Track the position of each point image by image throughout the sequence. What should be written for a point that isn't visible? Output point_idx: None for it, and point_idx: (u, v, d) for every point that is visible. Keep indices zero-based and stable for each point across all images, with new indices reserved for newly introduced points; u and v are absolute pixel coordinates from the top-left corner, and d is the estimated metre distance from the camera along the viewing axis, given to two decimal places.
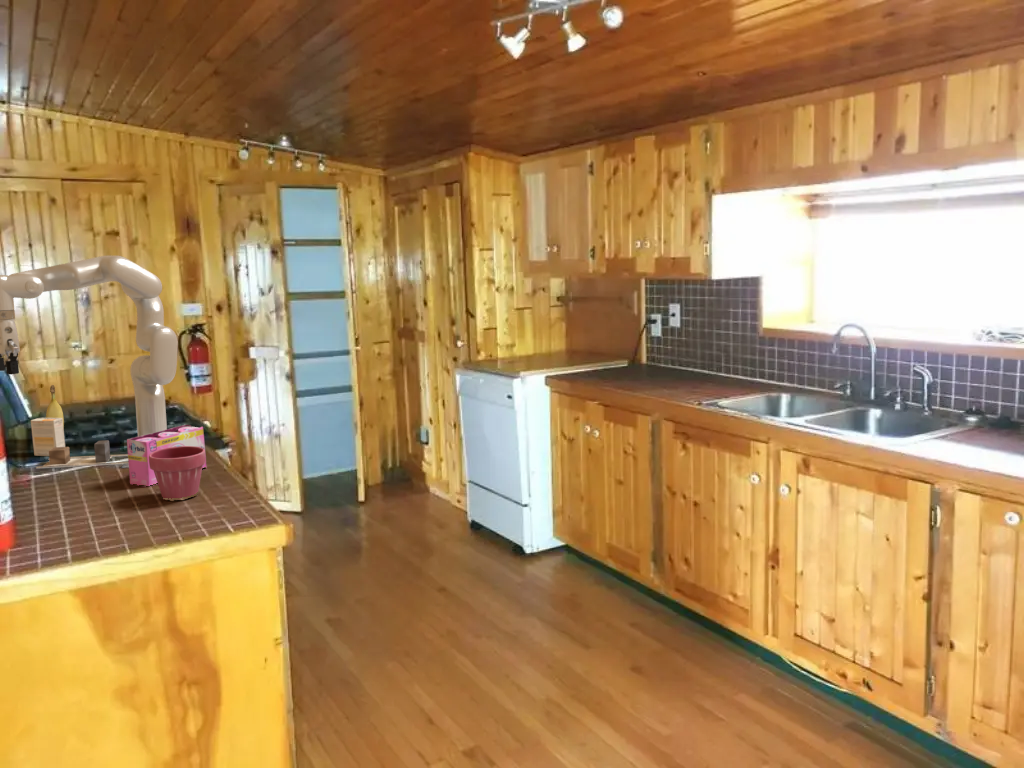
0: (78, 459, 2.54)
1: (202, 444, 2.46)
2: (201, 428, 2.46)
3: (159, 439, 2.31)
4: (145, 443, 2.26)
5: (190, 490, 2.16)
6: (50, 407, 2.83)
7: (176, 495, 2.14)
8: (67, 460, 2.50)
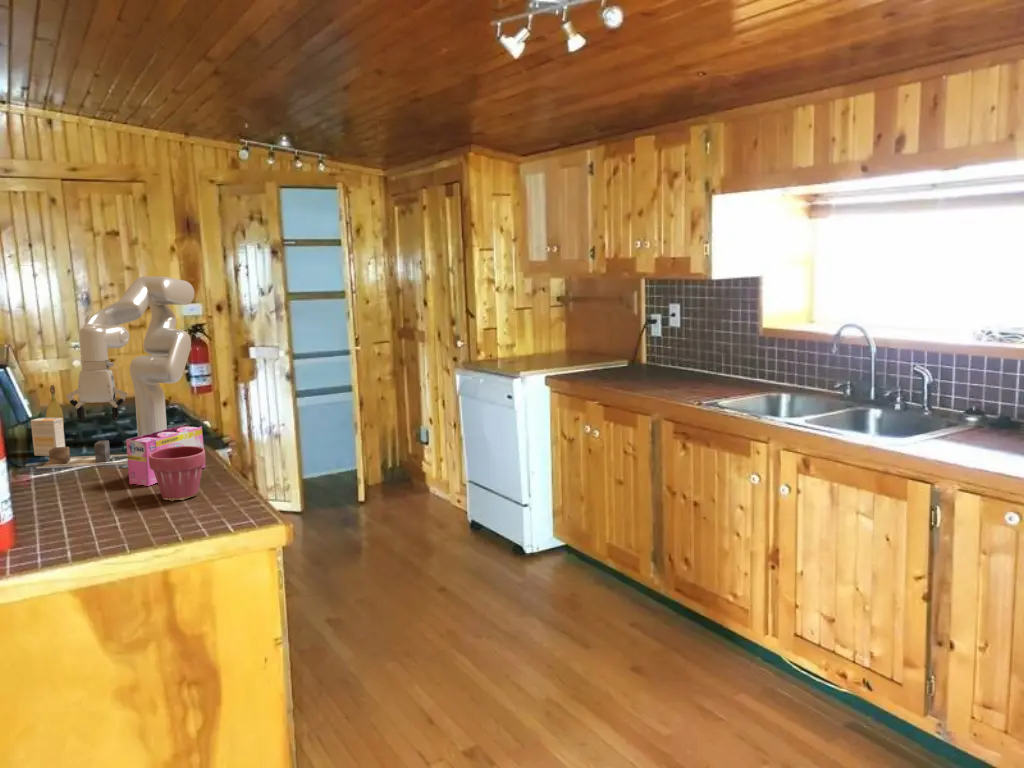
0: (78, 459, 2.54)
1: (201, 444, 2.46)
2: (200, 428, 2.46)
3: (158, 439, 2.31)
4: (145, 443, 2.26)
5: (190, 490, 2.16)
6: (50, 407, 2.83)
7: (176, 495, 2.14)
8: (67, 460, 2.50)
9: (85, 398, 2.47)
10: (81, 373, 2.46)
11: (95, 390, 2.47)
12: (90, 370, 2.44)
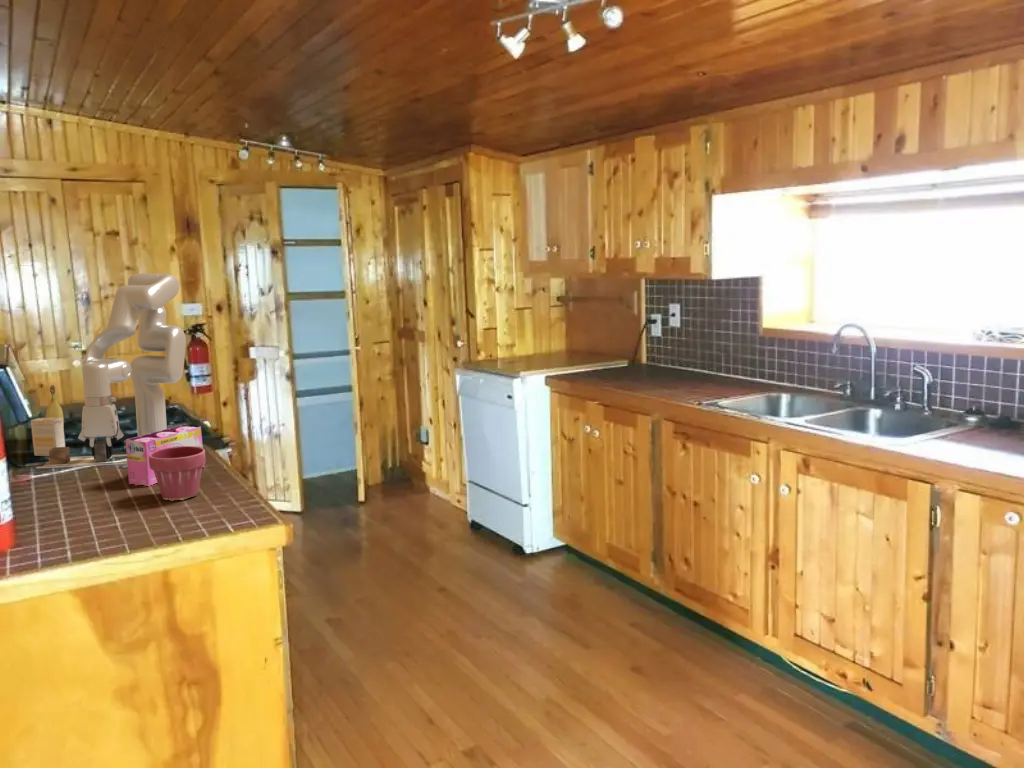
0: (78, 459, 2.54)
1: (200, 444, 2.47)
2: (199, 428, 2.46)
3: (158, 439, 2.31)
4: (144, 443, 2.26)
5: (190, 490, 2.16)
6: (50, 407, 2.83)
7: (176, 495, 2.14)
8: (67, 460, 2.50)
9: (89, 433, 2.49)
10: (84, 409, 2.47)
11: (99, 425, 2.49)
12: (93, 406, 2.46)
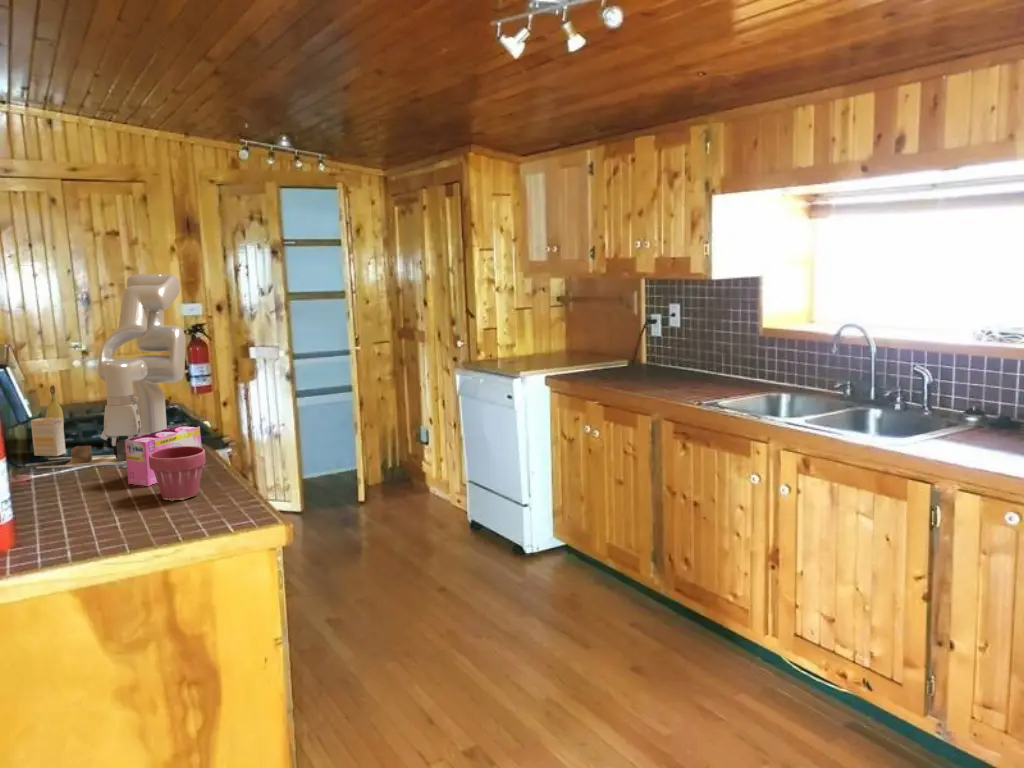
0: (100, 458, 2.56)
1: (199, 444, 2.47)
2: (198, 428, 2.46)
3: (157, 439, 2.31)
4: (144, 443, 2.26)
5: (190, 490, 2.16)
6: (50, 407, 2.83)
7: (176, 495, 2.14)
8: (89, 459, 2.52)
9: (111, 432, 2.50)
10: (107, 408, 2.49)
11: (121, 424, 2.50)
12: (116, 405, 2.48)
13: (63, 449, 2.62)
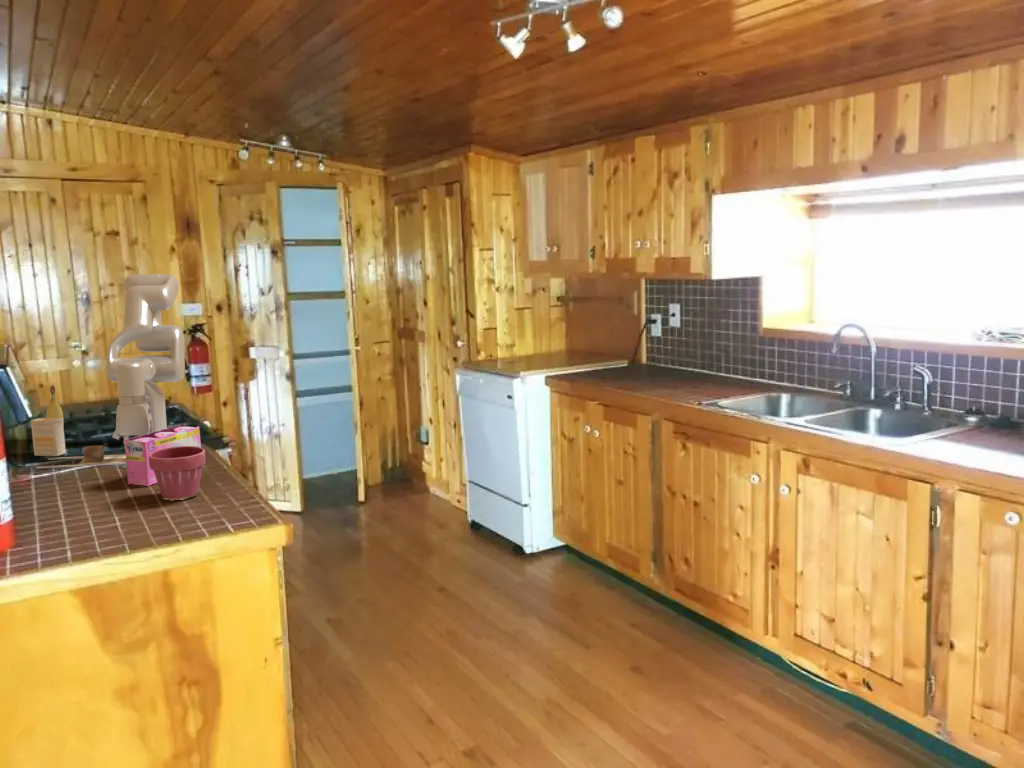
0: (112, 457, 2.56)
1: (198, 444, 2.47)
2: (197, 428, 2.46)
3: (157, 439, 2.31)
4: (144, 443, 2.26)
5: (190, 490, 2.16)
6: (50, 407, 2.83)
7: (176, 495, 2.14)
8: (101, 458, 2.52)
9: (123, 432, 2.51)
10: (119, 408, 2.50)
11: (133, 424, 2.51)
12: (128, 405, 2.49)
13: (63, 449, 2.62)
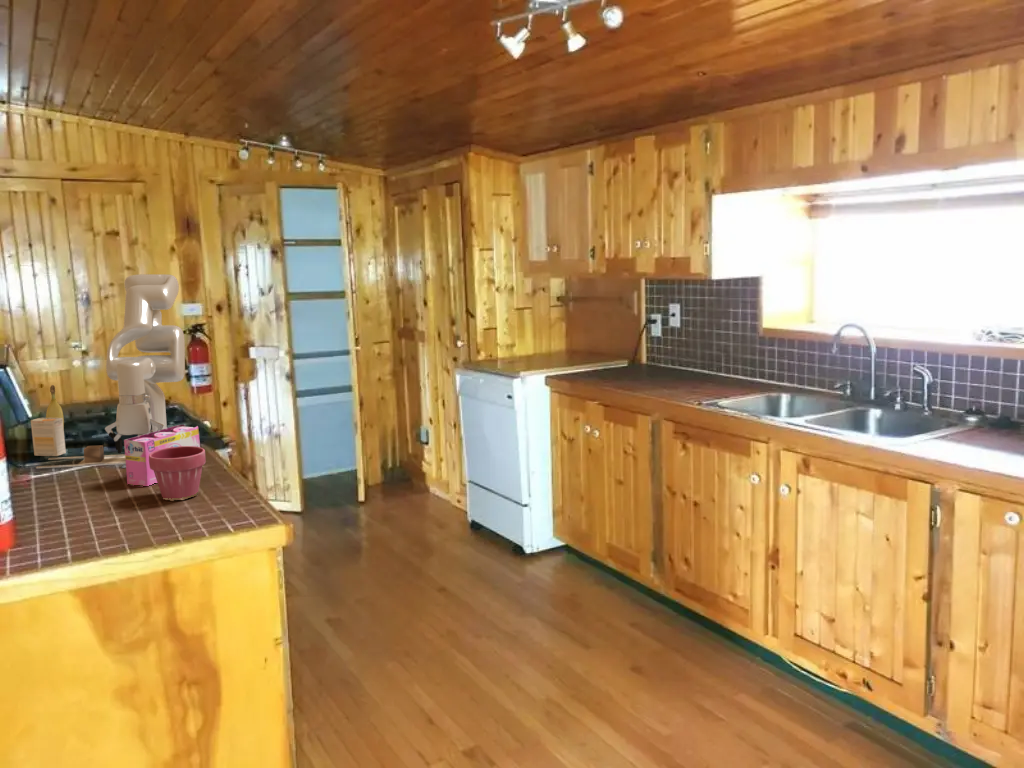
0: (112, 457, 2.56)
1: (197, 444, 2.47)
2: (196, 428, 2.46)
3: (157, 439, 2.31)
4: (143, 443, 2.26)
5: (190, 490, 2.16)
6: (50, 407, 2.83)
7: (176, 495, 2.14)
8: (101, 458, 2.52)
9: (123, 431, 2.51)
10: (119, 407, 2.50)
11: (133, 423, 2.51)
12: (128, 404, 2.49)
13: (63, 449, 2.62)
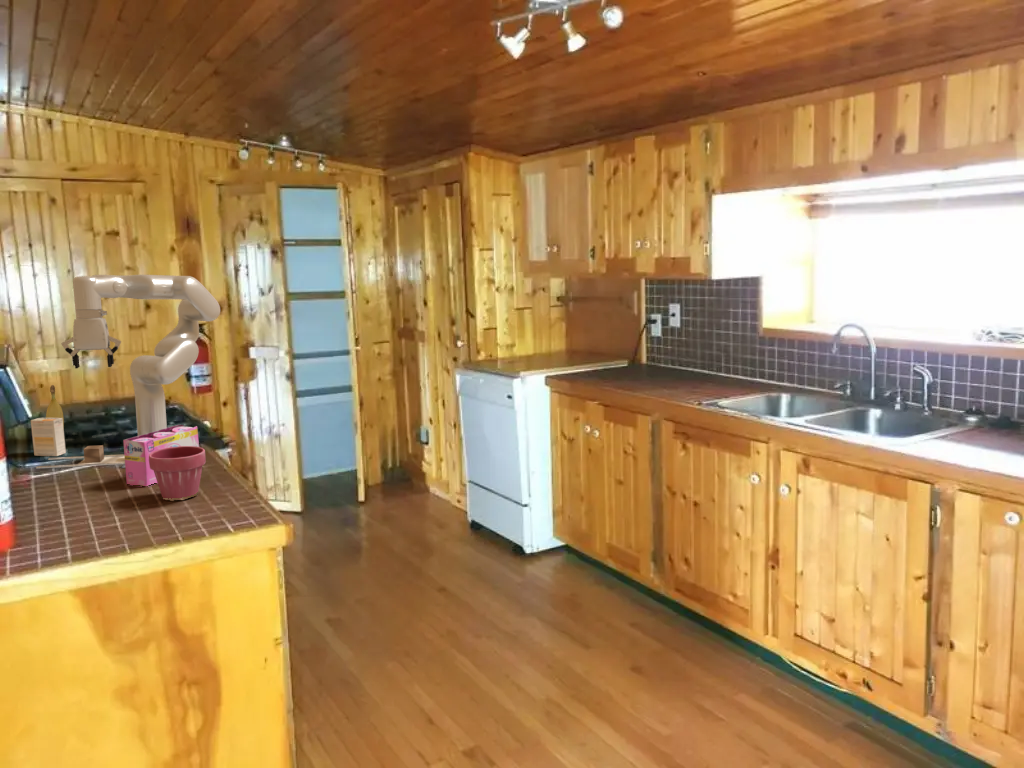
0: (112, 457, 2.56)
1: (196, 444, 2.47)
2: (195, 428, 2.46)
3: (156, 439, 2.31)
4: (143, 443, 2.26)
5: (190, 490, 2.16)
6: (50, 407, 2.83)
7: (176, 495, 2.14)
8: (101, 458, 2.52)
9: (80, 346, 2.54)
10: (76, 321, 2.52)
11: (90, 338, 2.54)
12: (85, 318, 2.52)
13: (63, 449, 2.62)
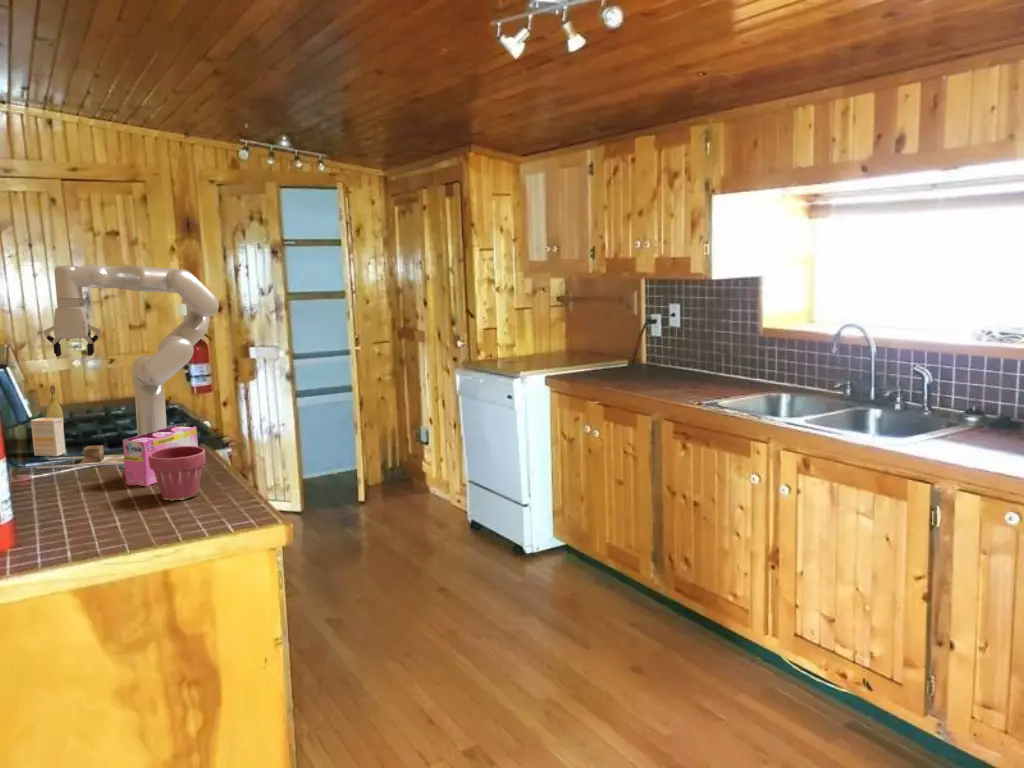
0: (112, 457, 2.56)
1: (195, 444, 2.47)
2: (194, 428, 2.46)
3: (156, 439, 2.31)
4: (143, 443, 2.26)
5: (190, 490, 2.16)
6: (50, 407, 2.83)
7: (176, 495, 2.14)
8: (101, 458, 2.52)
9: (61, 334, 2.57)
10: (57, 310, 2.56)
11: (71, 326, 2.57)
12: (65, 307, 2.55)
13: (63, 449, 2.62)
